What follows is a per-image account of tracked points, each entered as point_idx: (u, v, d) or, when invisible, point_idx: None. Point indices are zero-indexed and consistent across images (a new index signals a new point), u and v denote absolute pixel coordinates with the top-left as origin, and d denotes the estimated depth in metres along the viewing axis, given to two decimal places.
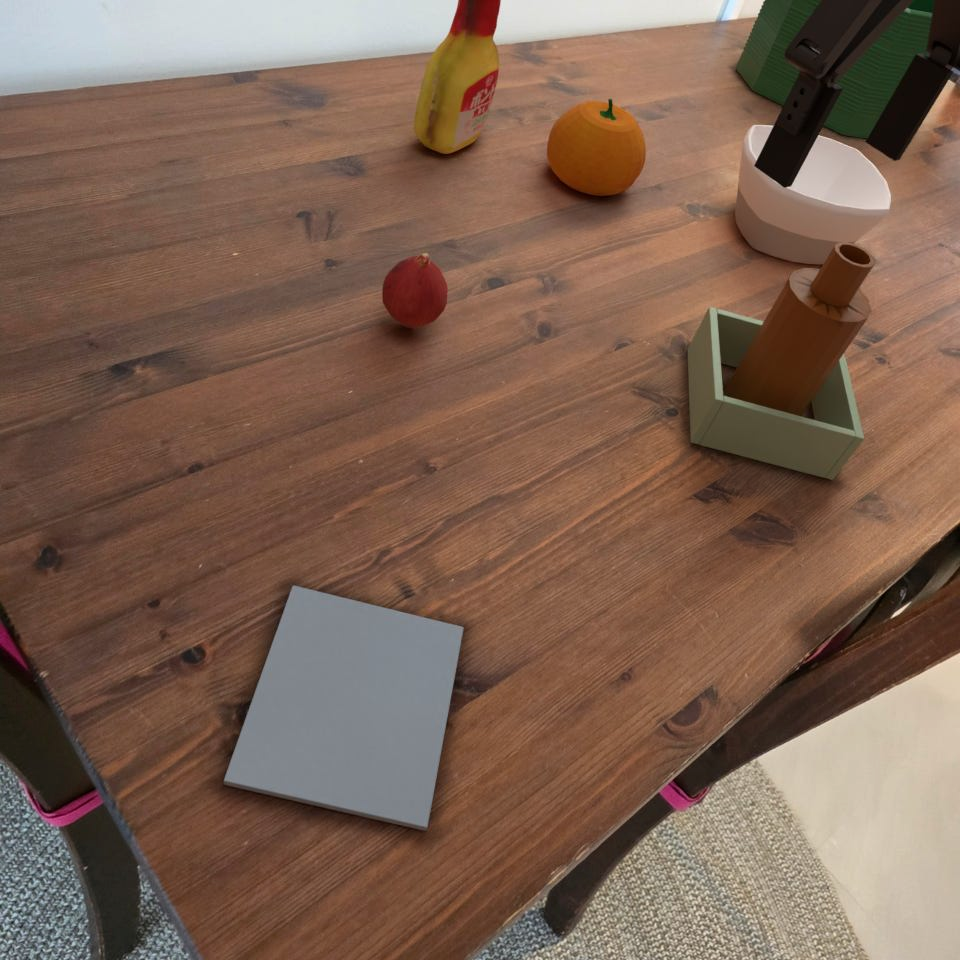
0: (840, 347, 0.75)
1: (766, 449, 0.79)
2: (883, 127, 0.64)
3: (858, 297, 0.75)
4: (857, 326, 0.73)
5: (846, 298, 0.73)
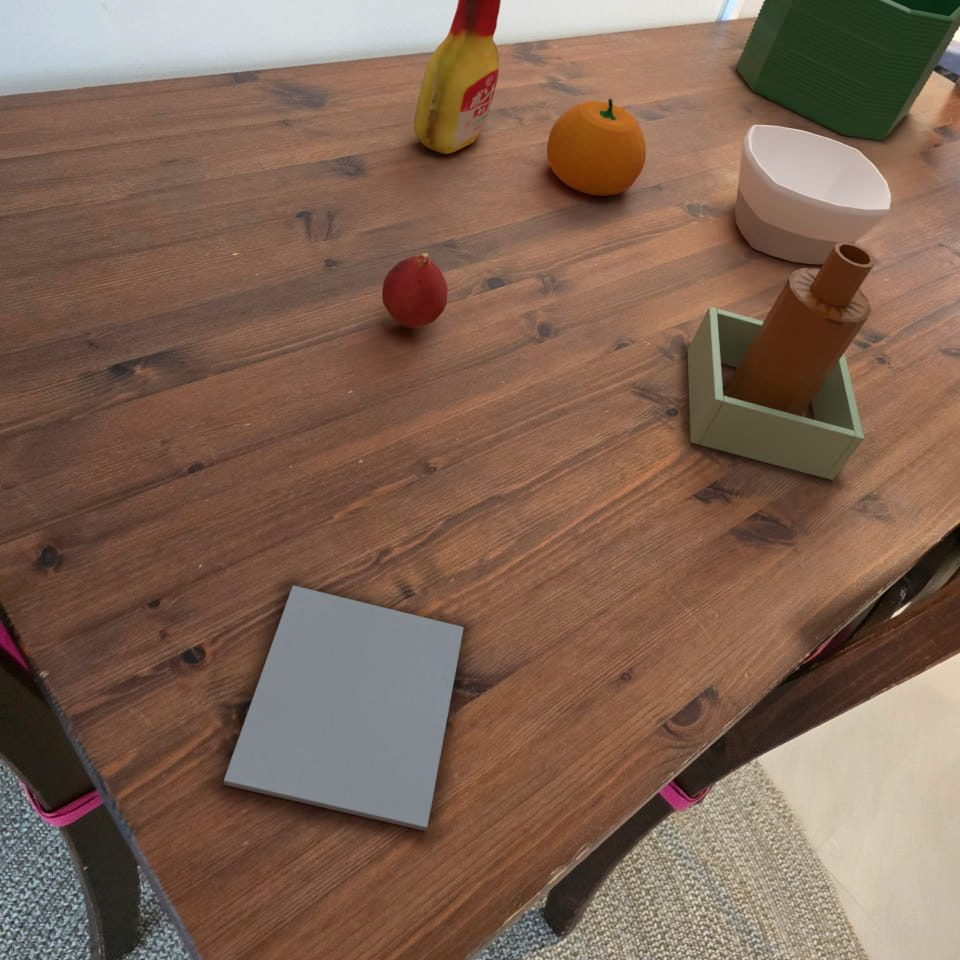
0: (840, 347, 0.75)
1: (766, 449, 0.79)
2: None
3: (858, 297, 0.75)
4: (857, 326, 0.73)
5: (846, 298, 0.73)
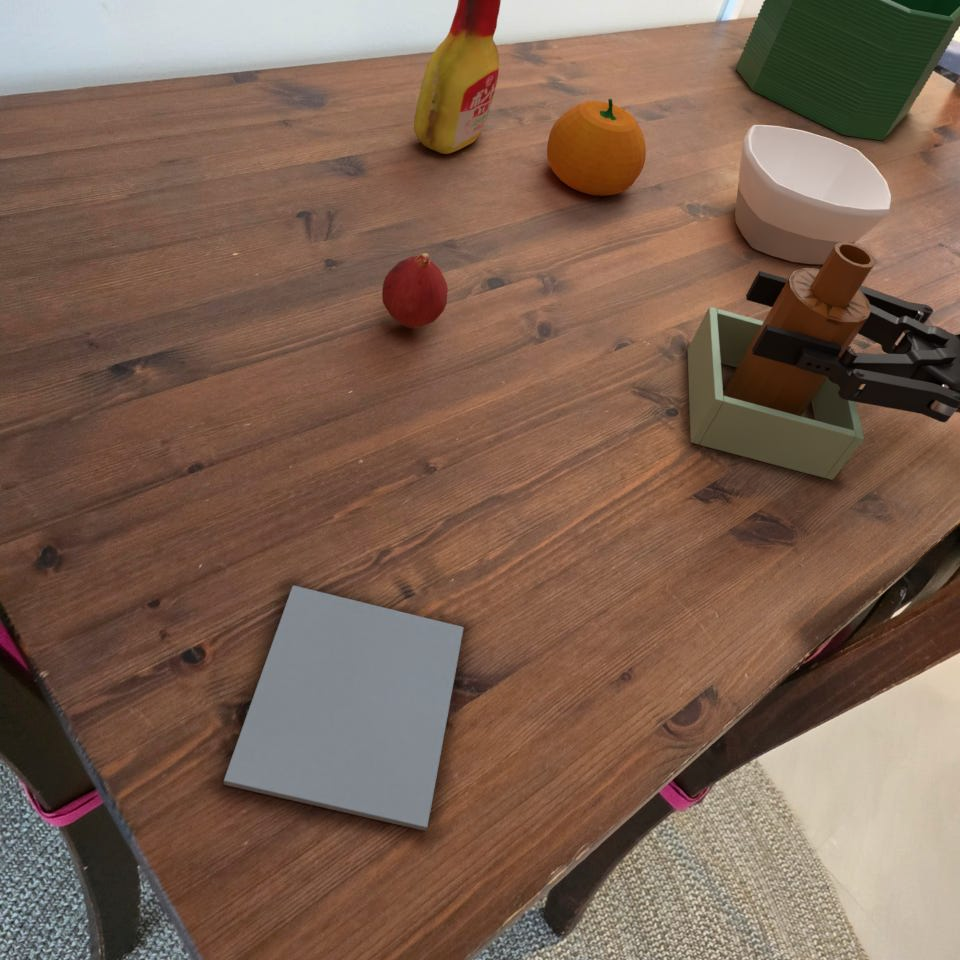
0: None
1: (766, 449, 0.79)
2: None
3: (858, 297, 0.75)
4: (857, 326, 0.73)
5: (846, 298, 0.73)
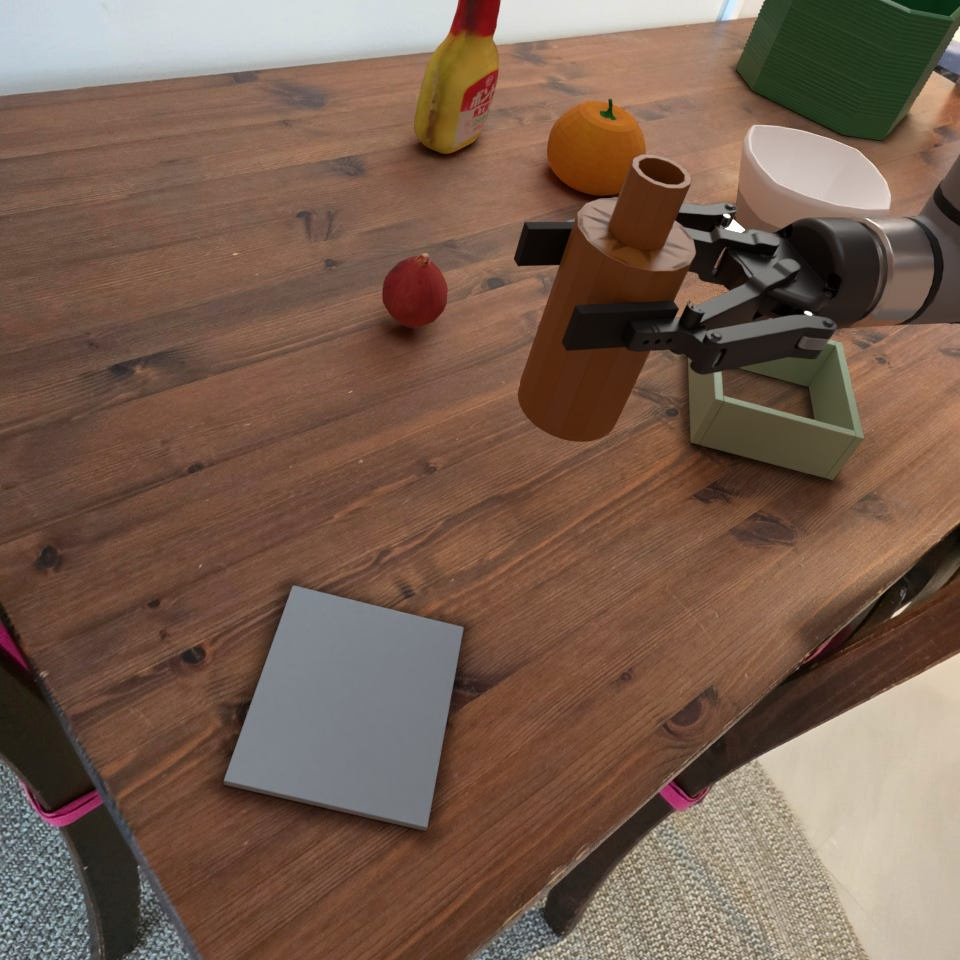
0: None
1: (766, 449, 0.79)
2: None
3: None
4: (688, 269, 0.51)
5: (664, 235, 0.50)
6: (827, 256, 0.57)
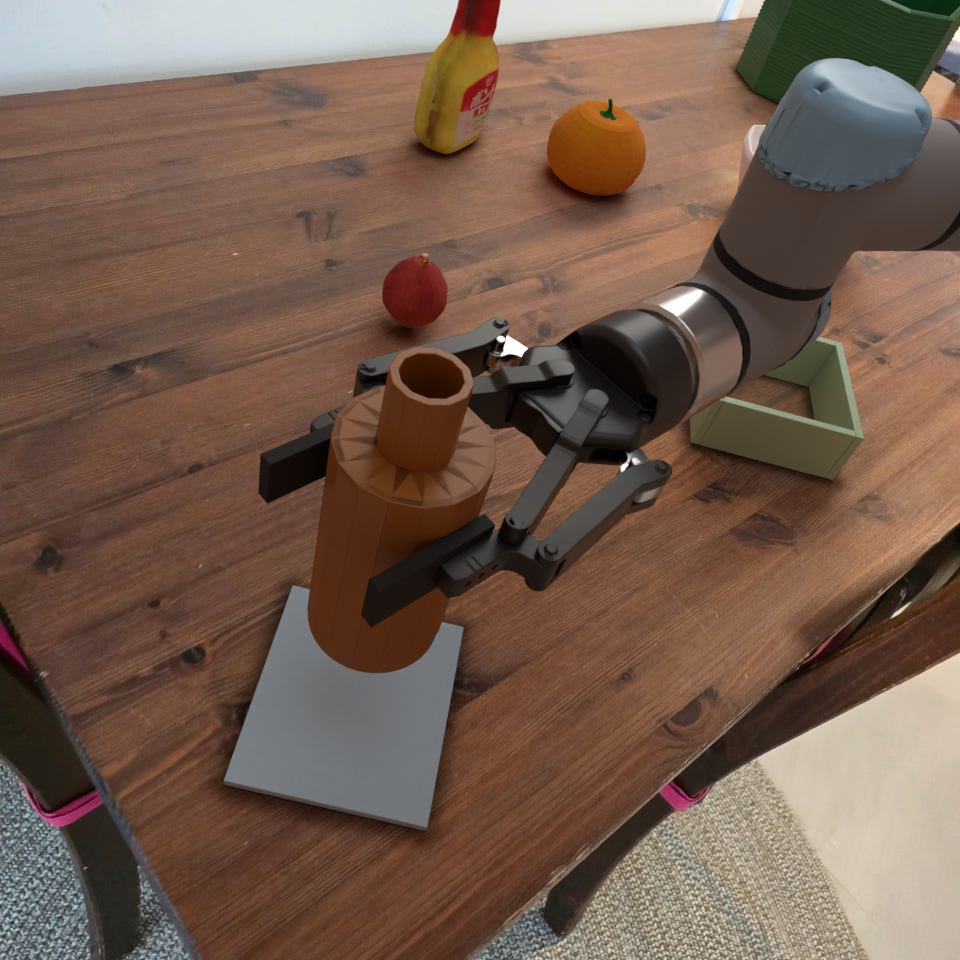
0: (480, 510, 0.41)
1: (766, 449, 0.79)
2: None
3: None
4: None
5: (454, 444, 0.38)
6: (632, 373, 0.47)
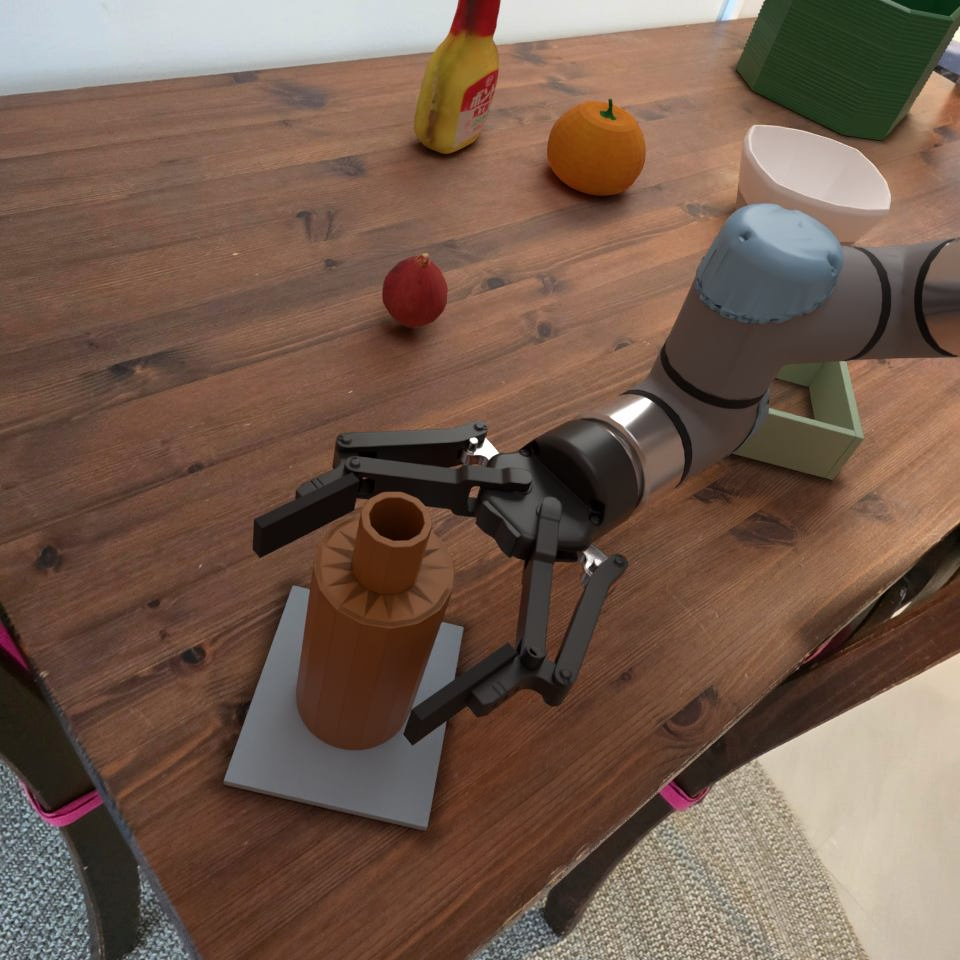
0: (442, 619, 0.47)
1: (766, 449, 0.79)
2: None
3: None
4: None
5: (418, 570, 0.45)
6: (583, 481, 0.53)
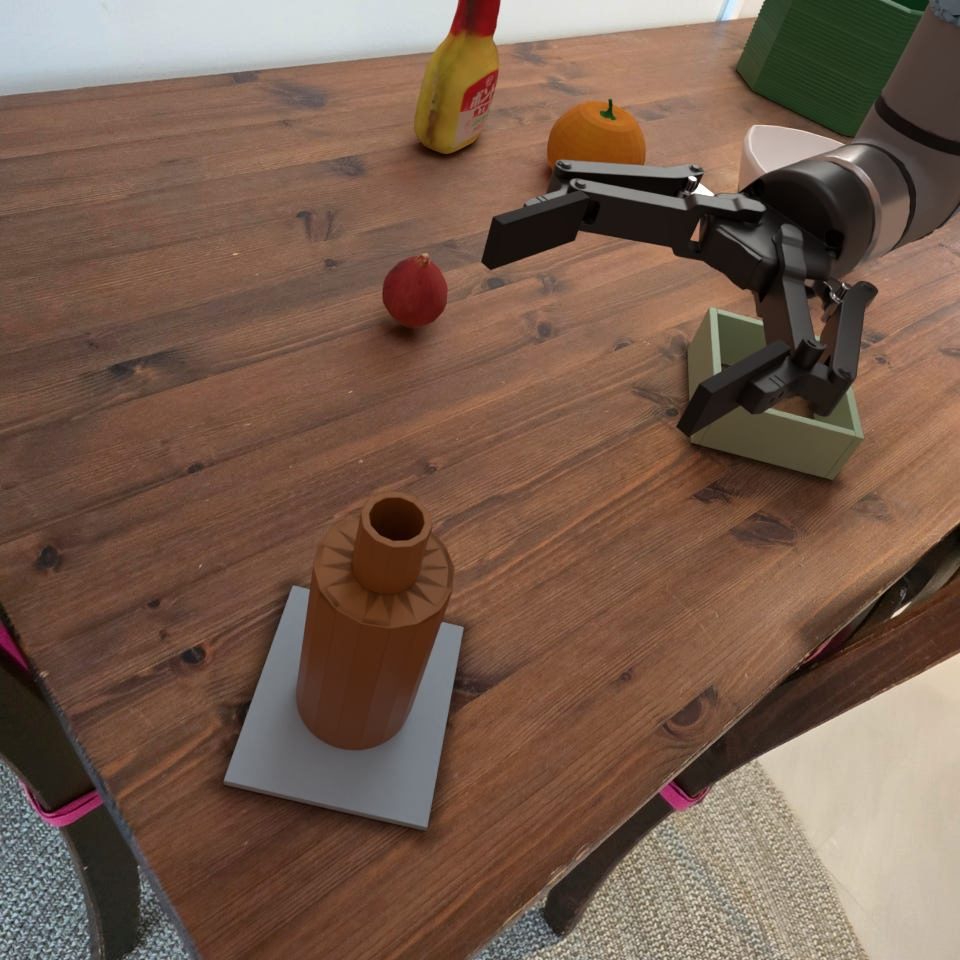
0: (442, 619, 0.47)
1: (766, 449, 0.79)
2: None
3: None
4: None
5: (418, 570, 0.45)
6: (820, 211, 0.49)
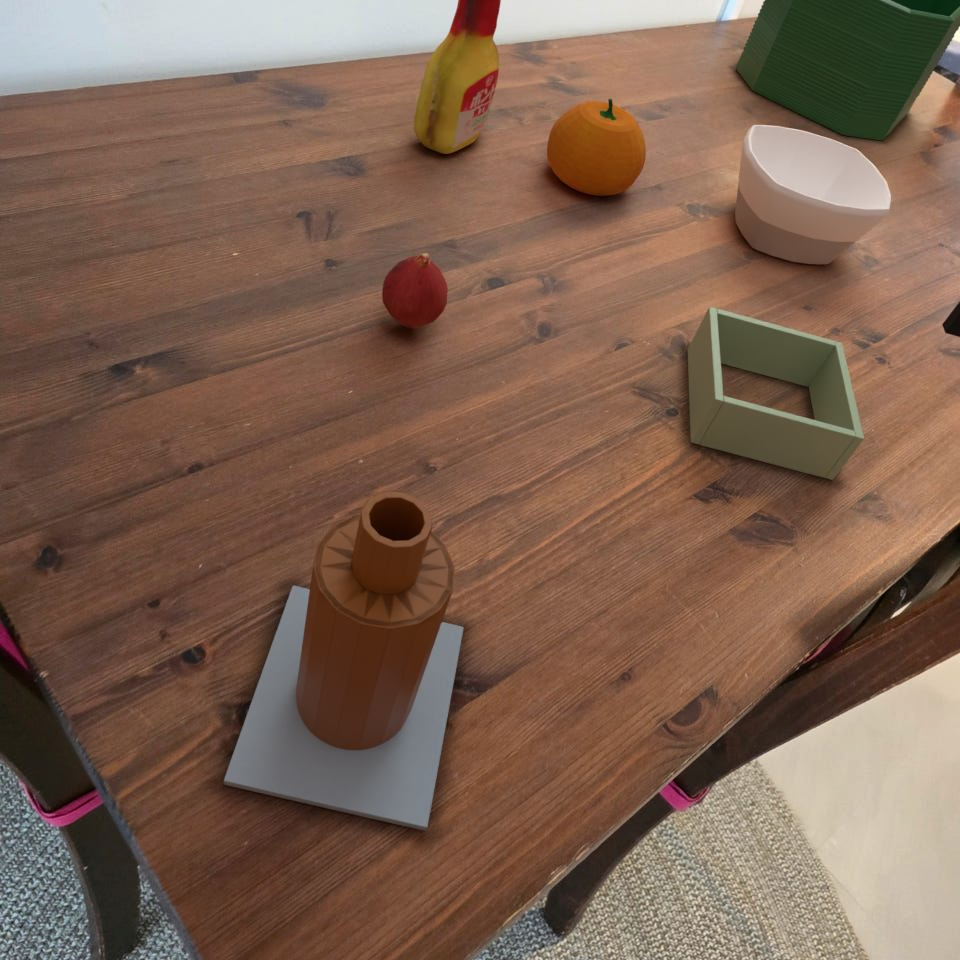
0: (442, 619, 0.47)
1: (766, 449, 0.79)
2: None
3: None
4: None
5: (418, 570, 0.45)
6: None
